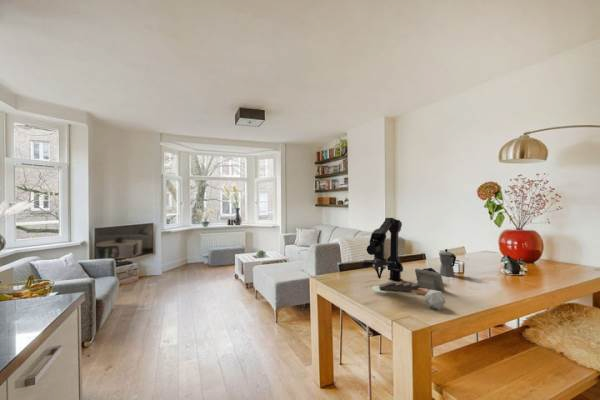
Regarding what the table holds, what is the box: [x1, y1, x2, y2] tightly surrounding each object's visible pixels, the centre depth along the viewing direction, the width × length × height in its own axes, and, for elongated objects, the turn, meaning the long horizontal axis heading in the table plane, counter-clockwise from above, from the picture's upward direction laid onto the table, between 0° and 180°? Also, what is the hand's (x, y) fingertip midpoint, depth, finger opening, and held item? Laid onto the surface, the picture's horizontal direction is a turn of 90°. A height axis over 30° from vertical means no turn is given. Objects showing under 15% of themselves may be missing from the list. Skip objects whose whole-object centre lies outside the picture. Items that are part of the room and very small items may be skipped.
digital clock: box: [414, 268, 445, 292], centre depth 162 cm, size 16×9×11 cm, turn 24°
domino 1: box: [378, 280, 396, 290], centre depth 160 cm, size 2×5×9 cm
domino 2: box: [387, 280, 404, 291], centre depth 159 cm, size 2×5×9 cm
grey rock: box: [423, 289, 446, 310], centre depth 134 cm, size 8×9×10 cm
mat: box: [371, 285, 417, 296], centre depth 159 cm, size 24×10×1 cm, turn 71°
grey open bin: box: [421, 267, 439, 273], centre depth 176 cm, size 13×14×10 cm
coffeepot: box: [438, 248, 457, 278], centre depth 189 cm, size 15×9×18 cm, turn 9°
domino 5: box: [411, 288, 429, 295], centre depth 155 cm, size 2×5×9 cm
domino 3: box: [395, 281, 412, 291], centre depth 158 cm, size 2×5×9 cm
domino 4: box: [403, 281, 420, 292], centre depth 156 cm, size 2×5×9 cm
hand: (379, 278), depth 162 cm, fingers closed
